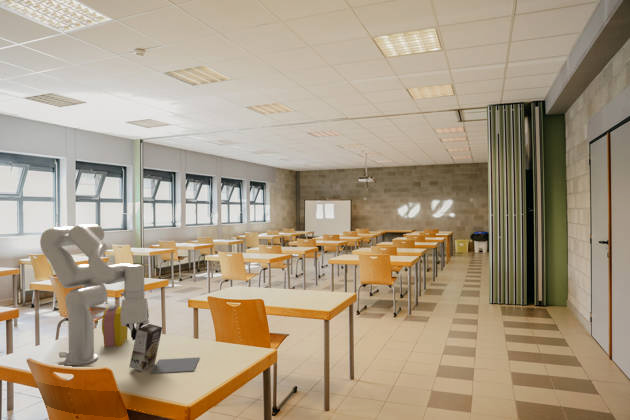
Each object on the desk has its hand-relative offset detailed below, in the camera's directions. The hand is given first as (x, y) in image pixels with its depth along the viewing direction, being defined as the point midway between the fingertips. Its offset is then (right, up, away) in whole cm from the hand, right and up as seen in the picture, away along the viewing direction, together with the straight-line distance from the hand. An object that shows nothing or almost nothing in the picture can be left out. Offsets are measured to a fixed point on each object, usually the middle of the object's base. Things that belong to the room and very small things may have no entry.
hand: (135, 339), depth 172 cm
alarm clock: (-24, -12, +33) cm, 43 cm away
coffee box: (+3, -11, 0) cm, 12 cm away
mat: (+16, -12, +2) cm, 20 cm away
